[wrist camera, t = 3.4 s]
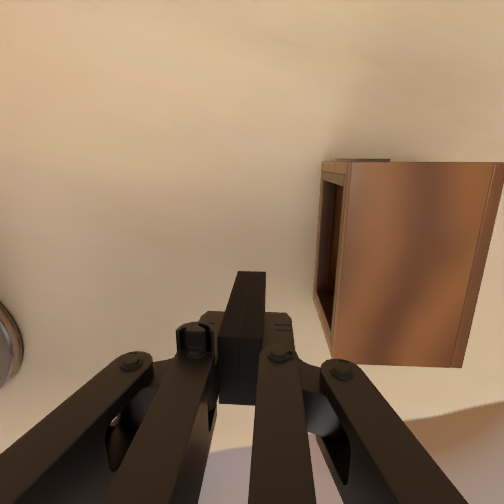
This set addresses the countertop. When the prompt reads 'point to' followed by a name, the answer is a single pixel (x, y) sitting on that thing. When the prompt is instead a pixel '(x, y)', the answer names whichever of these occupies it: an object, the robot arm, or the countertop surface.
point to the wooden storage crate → (402, 257)
